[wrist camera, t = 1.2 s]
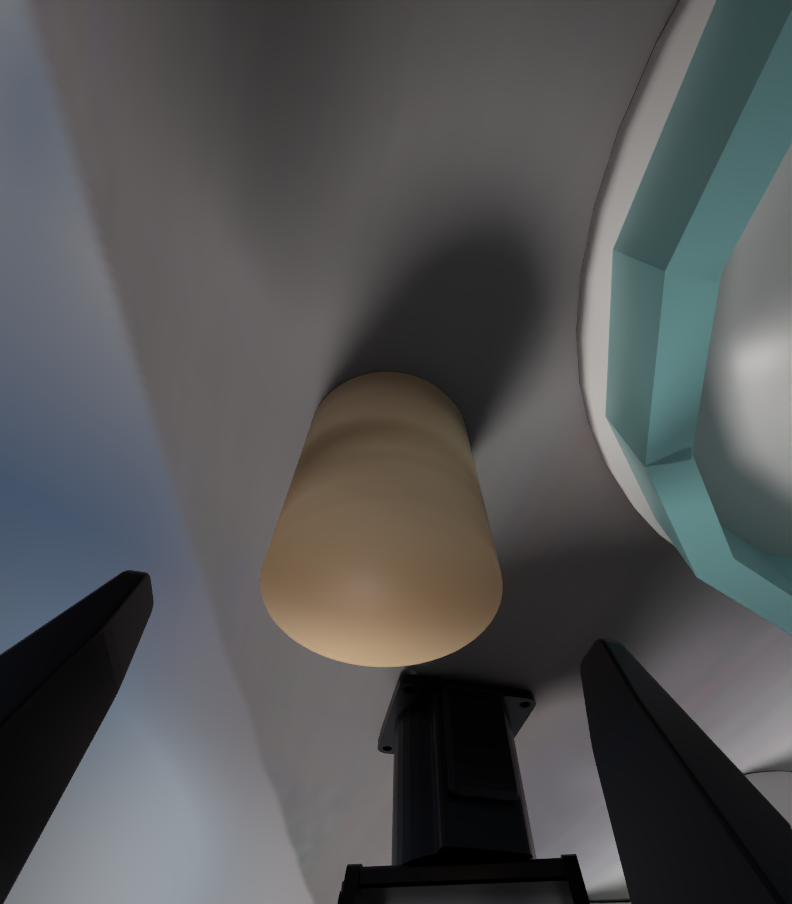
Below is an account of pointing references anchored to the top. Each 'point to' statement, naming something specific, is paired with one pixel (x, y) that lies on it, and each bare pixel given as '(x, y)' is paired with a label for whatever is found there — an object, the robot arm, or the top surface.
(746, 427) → the groove tray
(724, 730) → the top surface
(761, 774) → the cylindrical container
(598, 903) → the supplement box
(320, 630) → the wood cylinder
